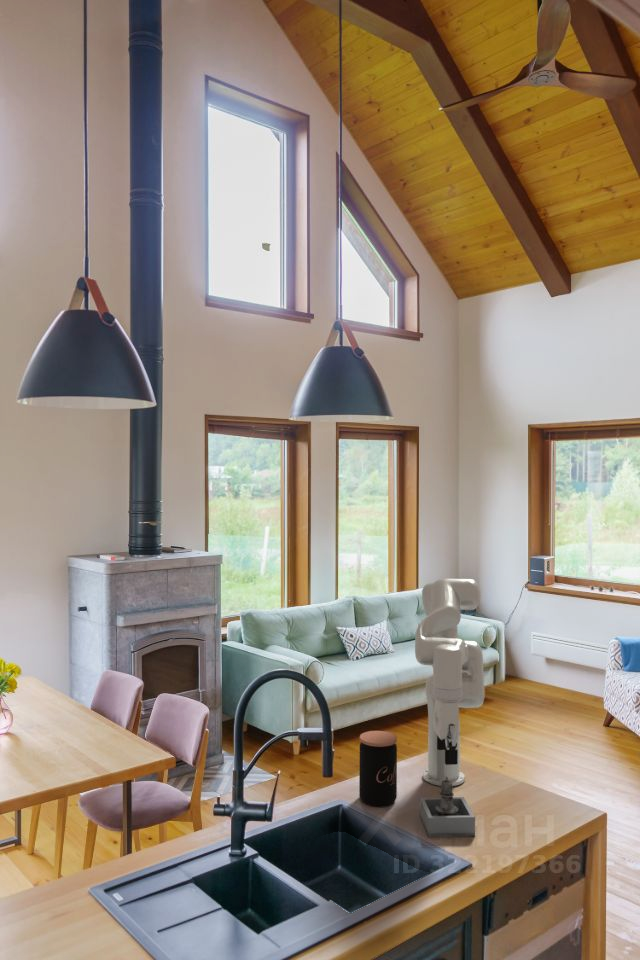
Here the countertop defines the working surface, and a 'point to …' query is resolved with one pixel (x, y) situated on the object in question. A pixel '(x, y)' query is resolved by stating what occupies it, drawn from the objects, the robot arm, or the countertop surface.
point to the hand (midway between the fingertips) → (447, 756)
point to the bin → (447, 819)
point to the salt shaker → (446, 800)
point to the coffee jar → (378, 768)
